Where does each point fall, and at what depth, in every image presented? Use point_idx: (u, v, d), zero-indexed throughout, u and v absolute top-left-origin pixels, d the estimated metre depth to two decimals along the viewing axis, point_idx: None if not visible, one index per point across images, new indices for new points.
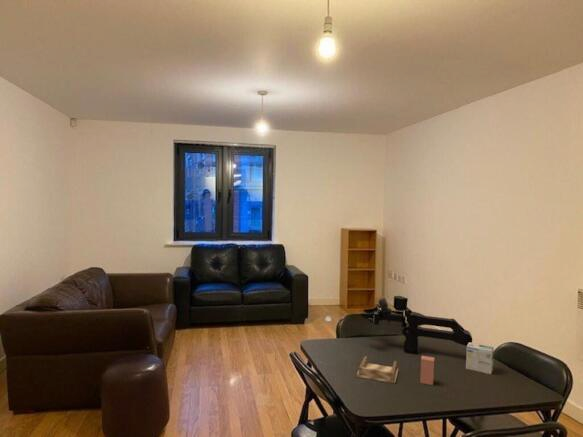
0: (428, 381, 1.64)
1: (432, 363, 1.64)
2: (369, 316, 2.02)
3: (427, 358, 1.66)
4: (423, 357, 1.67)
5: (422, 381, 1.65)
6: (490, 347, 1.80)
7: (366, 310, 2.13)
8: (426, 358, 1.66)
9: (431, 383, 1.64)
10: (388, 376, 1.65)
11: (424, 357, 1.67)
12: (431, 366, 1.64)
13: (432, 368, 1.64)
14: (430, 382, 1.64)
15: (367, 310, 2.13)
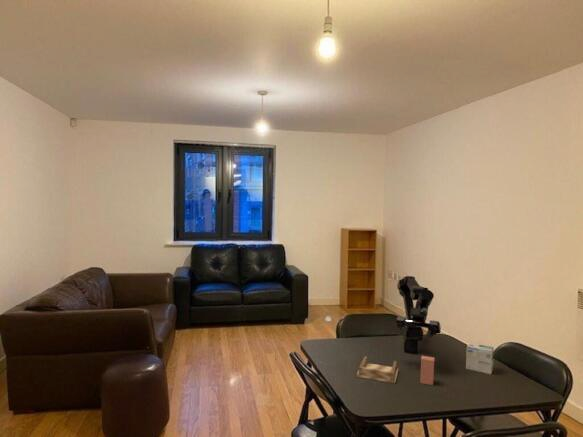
0: (428, 381, 1.64)
1: (432, 363, 1.64)
2: (430, 333, 1.75)
3: (427, 358, 1.66)
4: (423, 357, 1.67)
5: (422, 381, 1.65)
6: (490, 347, 1.80)
7: (404, 336, 1.78)
8: (426, 358, 1.66)
9: (431, 383, 1.64)
10: (388, 376, 1.65)
11: (424, 357, 1.67)
12: (431, 366, 1.64)
13: (432, 368, 1.64)
14: (430, 382, 1.64)
15: (405, 335, 1.78)
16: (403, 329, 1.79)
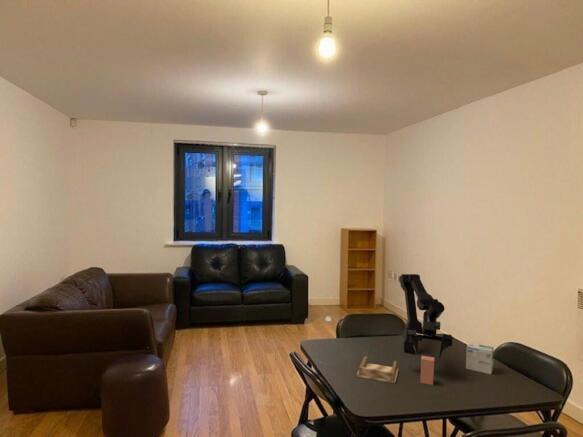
0: (428, 381, 1.64)
1: (432, 363, 1.64)
2: None
3: (427, 358, 1.66)
4: (423, 357, 1.67)
5: (422, 381, 1.65)
6: (490, 347, 1.80)
7: (417, 351, 1.71)
8: (426, 358, 1.66)
9: (431, 383, 1.64)
10: (388, 376, 1.65)
11: (424, 357, 1.67)
12: (431, 366, 1.64)
13: (432, 368, 1.64)
14: (430, 382, 1.64)
15: (417, 349, 1.71)
16: (415, 343, 1.72)
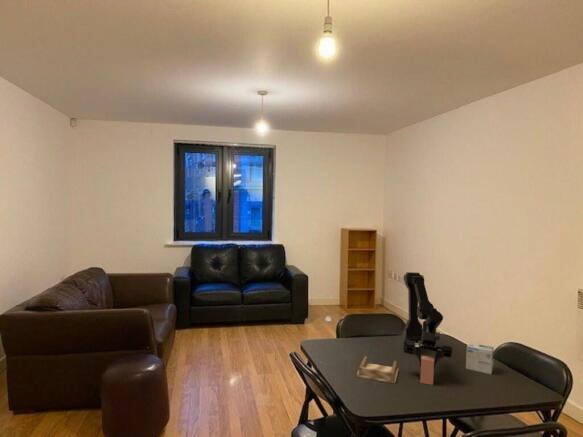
0: (428, 381, 1.64)
1: (432, 363, 1.64)
2: (437, 358, 1.67)
3: (427, 358, 1.66)
4: (423, 357, 1.67)
5: (422, 381, 1.65)
6: (490, 347, 1.80)
7: None
8: (426, 358, 1.66)
9: (431, 383, 1.64)
10: (388, 376, 1.65)
11: (424, 357, 1.67)
12: (431, 366, 1.64)
13: (432, 368, 1.64)
14: (430, 382, 1.64)
15: None
16: (419, 355, 1.68)
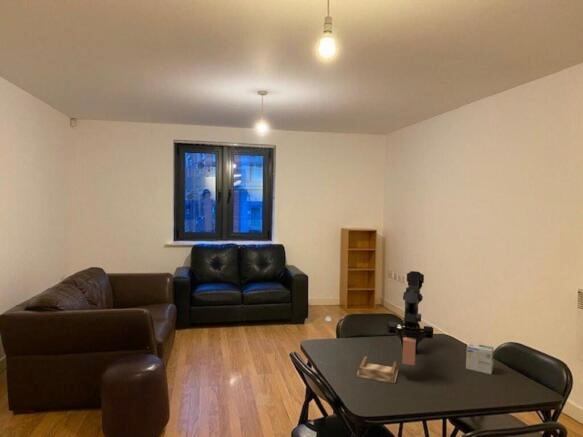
0: (410, 362, 1.67)
1: (414, 344, 1.66)
2: None
3: (409, 339, 1.68)
4: (405, 338, 1.69)
5: (404, 362, 1.67)
6: (490, 347, 1.80)
7: None
8: (408, 339, 1.68)
9: (413, 363, 1.66)
10: (388, 376, 1.65)
11: (406, 338, 1.69)
12: (412, 347, 1.66)
13: (414, 349, 1.66)
14: (412, 362, 1.66)
15: (402, 342, 1.69)
16: (401, 336, 1.70)
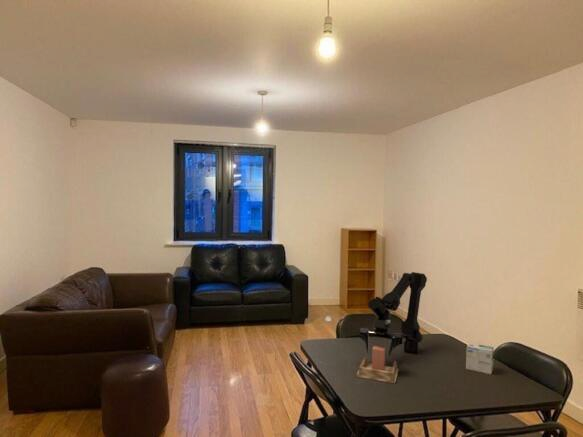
0: None
1: (382, 353, 1.70)
2: None
3: (378, 348, 1.73)
4: (375, 347, 1.73)
5: None
6: (490, 347, 1.80)
7: (368, 348, 1.74)
8: (377, 348, 1.73)
9: None
10: (388, 376, 1.65)
11: (376, 347, 1.74)
12: (381, 356, 1.70)
13: (382, 358, 1.70)
14: None
15: (368, 347, 1.74)
16: (366, 341, 1.75)
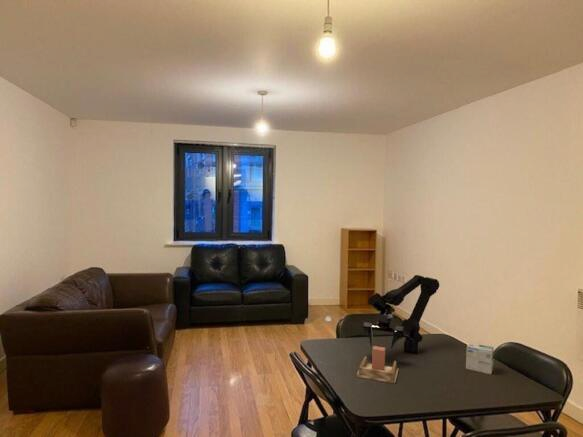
0: None
1: (382, 353, 1.70)
2: (395, 338, 1.81)
3: (378, 348, 1.73)
4: (375, 347, 1.73)
5: None
6: (490, 347, 1.80)
7: (371, 342, 1.83)
8: (377, 348, 1.73)
9: None
10: (388, 376, 1.65)
11: (376, 347, 1.74)
12: (381, 356, 1.70)
13: (382, 358, 1.70)
14: None
15: (371, 340, 1.83)
16: (370, 335, 1.84)
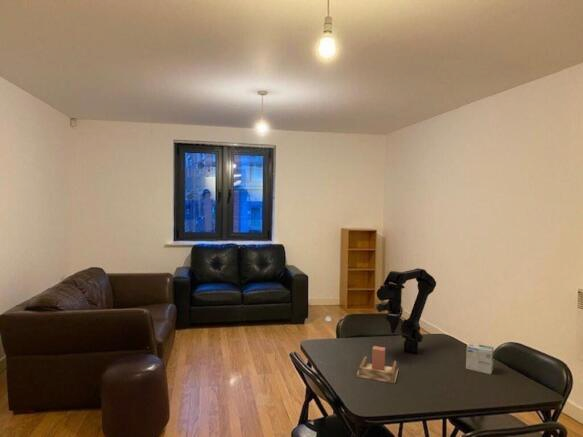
0: None
1: (382, 353, 1.70)
2: (393, 324, 1.86)
3: (378, 348, 1.73)
4: (375, 347, 1.73)
5: None
6: (490, 347, 1.80)
7: None
8: (377, 348, 1.73)
9: None
10: (388, 376, 1.65)
11: (376, 347, 1.74)
12: (381, 356, 1.70)
13: (382, 358, 1.70)
14: None
15: None
16: None
